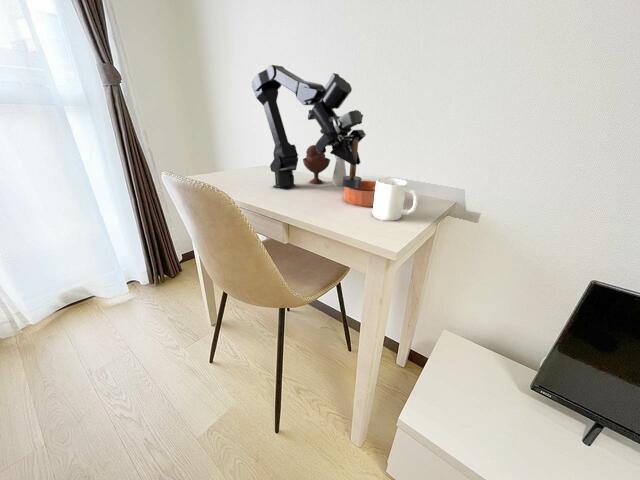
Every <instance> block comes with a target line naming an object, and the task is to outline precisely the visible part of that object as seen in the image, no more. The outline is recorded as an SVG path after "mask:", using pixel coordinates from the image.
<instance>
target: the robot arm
mask: <svg viewBox="0 0 640 480" xmlns="http://www.w3.org/2000/svg"><path fill="white" fill-rule="evenodd" d="M282 86H283V87H284V88H286V89H288V90H289V91H291V92H293V93H294V94H295V97H296V99H297V100H298V102H300V103H301V104H302V105H303V106H313V107H312V109H309V110H308V115H307V120H308V121H312V120H315V121H316V122H317V124H318V125H319V127H320V128H321V129H320V130H319V132H320V134H322V135H321V137H319V138H318V140H317V141H316V143H315V145H316V150H317V151H318V153H319V154H322V153H324V154H325V153H326V152H327V148H326V147H328V146H329V147H331V151H330V152H329V153H330V154H331V155H334V157H335V156H337V157H339V158H341V159H343V160H345V163H346V162H347V164H349V165H350V164H352V165H353V166H355V165H356V166H357V165H358V166H359V165H360V164H361V162H362V161H361V159H360V154H359V151H357V163H356V160H355V158H354V156H353V155H352V153H351V148H352V141H353V140H357V141H358V144H359V143H360V142H361V141H362V140H363V139H364V138H365V137H366V135H367V134H366V133H365V131H364V130H363V129H353V127H355V126H357V125H361V124H362V123H363V119H364V118H363V117H364V114H362V111H359V110H358V109H354V110H350V111H348V112H347V113H345V114H343V115H338V114H337V113H336V112H335V111H334V110H335V109H336V110H337V109H340V108H341V106H342V105H343V103H344V102H345V101H346V100H347V98H348V97H349V96H350V95H351V93H352V91H353V89H352V86H351V84H350V83H349V82H348V81H346V79H344V78H343V77H342V76H340V74H339V73H334V72H333V73H332V74H331V75H330V77H329V80H328V82H327V83H326V84H325V86H324V85H323V84H320V83H317V82H313V81H309V80H308V81H307V80H304V79H302V78H301V77H300V76H298V75H296V74H295V73H293V72H290V71H289V70H288V69H286V68H285V67H284V66H282V65H277V64H276V65H275V64H271V65H269V66H268V67H267V68H266V69H264V70H263V71H261V72H259V73H257V74H256V75H255V76H254V77H253V79H252V81H251V89H252V91H253V93H254V96H255V98H256V99H257V100H258V102H260V104H261V105H262V107H263V109H264V112H265V116H266V119H267V123H268V127H269V130H270V133H271V136H272V140H273V143H274V149H273V160H272V161H271V163H270V165H269V168H270V171H271V172H272V173H274V182H275V184H274V185H273V186H272V187H273V188H277V189H281V190H289V189H291V188H293V187H296V183H295V175H294V171H296V170H297V168H298V162H299V154H298V151H297V147H296V145H295V144H291V143H290V142H289V140H288V136H287V133H286V129H285V126H284V123H283V119H282V116H281V113H280V109H279V106H278V97H279V90H280V88H281V87H282Z"/></svg>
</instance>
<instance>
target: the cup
mask: <svg viewBox="0 0 640 480" xmlns="http://www.w3.org/2000/svg"><path fill="white" fill-rule="evenodd" d="M375 182H376V189H375V197H374V206H372V215H373V217H375V218H377V219H378V220H382V221H388V222H389V221H391V222H393V221H398V220H400V219H401V217H402V215H410V214H413V213H414V212H415V211H416V209H417V207H418V201H419V197H418V193H417V191H416V190H415V189H412V188H407V187H408V181H406V180H405V179H402V178H396V177H380V178H378V179H376V181H375ZM406 194H409V195H412V197H413V201H412V202H413V203H412V206H411V208H410V209H405V208H404V205H405V199H406Z"/></svg>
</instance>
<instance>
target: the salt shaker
mask: <svg viewBox="0 0 640 480" xmlns="http://www.w3.org/2000/svg"><path fill="white" fill-rule="evenodd" d="M334 158H335V159H336V160H335V164H334V169H333V174H332V183H333V185H334V186H335V187H344V186H343V177H344V176H347V170H346V169H347V168H346V161H345V160H343V159H341V158H339V157H337V156H335V155H334Z"/></svg>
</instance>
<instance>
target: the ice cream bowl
mask: <svg viewBox="0 0 640 480" xmlns="http://www.w3.org/2000/svg"><path fill="white" fill-rule="evenodd" d="M305 153H306V156H305V157H304V158H302V163H303V165H304V166H305V168H306V170H308V171H310V172H311V173H313V178H312V179H311V180H310V181H309V184H311V185H321V184H322V185H323V183H324V182H323V181H322V179H320V178H319V174H320V173H322V172H323V171H325V170H326V169H327V168H328V167H329V165H330V162H331V159H330V158H329V157H326V154H325V153H322V154H319V153H318V151H317V150H316V144H311V145H309V146H308V147H307V148H306V152H305Z"/></svg>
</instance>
